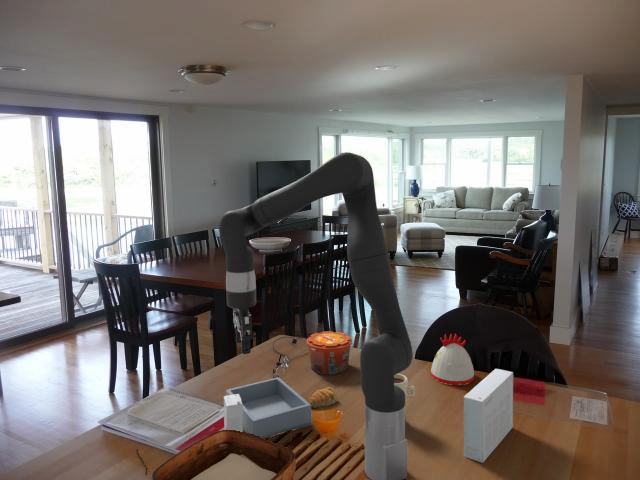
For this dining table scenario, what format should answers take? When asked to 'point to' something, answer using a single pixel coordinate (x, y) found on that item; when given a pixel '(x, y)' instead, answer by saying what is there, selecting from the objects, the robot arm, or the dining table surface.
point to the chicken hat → (452, 363)
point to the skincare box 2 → (488, 414)
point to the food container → (329, 352)
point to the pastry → (323, 397)
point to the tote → (272, 408)
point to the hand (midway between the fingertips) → (243, 347)
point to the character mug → (404, 385)
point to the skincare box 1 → (233, 413)
